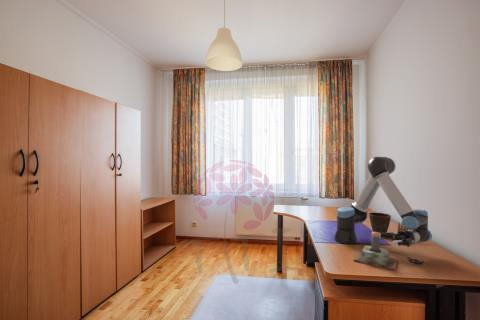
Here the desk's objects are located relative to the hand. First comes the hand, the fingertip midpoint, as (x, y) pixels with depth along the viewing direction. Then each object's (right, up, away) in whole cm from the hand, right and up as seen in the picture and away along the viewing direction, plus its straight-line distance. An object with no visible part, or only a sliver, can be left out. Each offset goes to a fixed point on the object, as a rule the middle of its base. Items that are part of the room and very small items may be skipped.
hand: (381, 240), depth 139 cm
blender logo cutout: (+19, -13, +2) cm, 23 cm away
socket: (-4, -12, -1) cm, 12 cm away
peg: (-4, -11, -1) cm, 11 cm away
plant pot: (+27, -13, +50) cm, 58 cm away
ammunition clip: (+41, -13, +40) cm, 59 cm away
